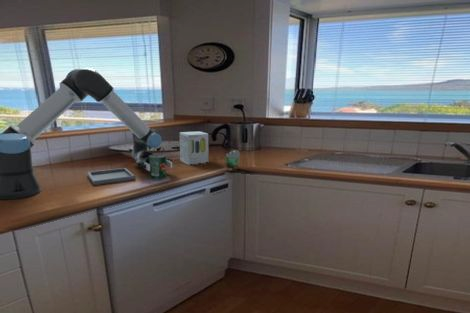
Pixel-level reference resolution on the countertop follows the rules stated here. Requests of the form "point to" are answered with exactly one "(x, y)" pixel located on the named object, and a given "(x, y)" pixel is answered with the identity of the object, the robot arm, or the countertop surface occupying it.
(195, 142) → the supplement box
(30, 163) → the robot arm
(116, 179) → the tray
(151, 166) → the canned tomato
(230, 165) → the food container
